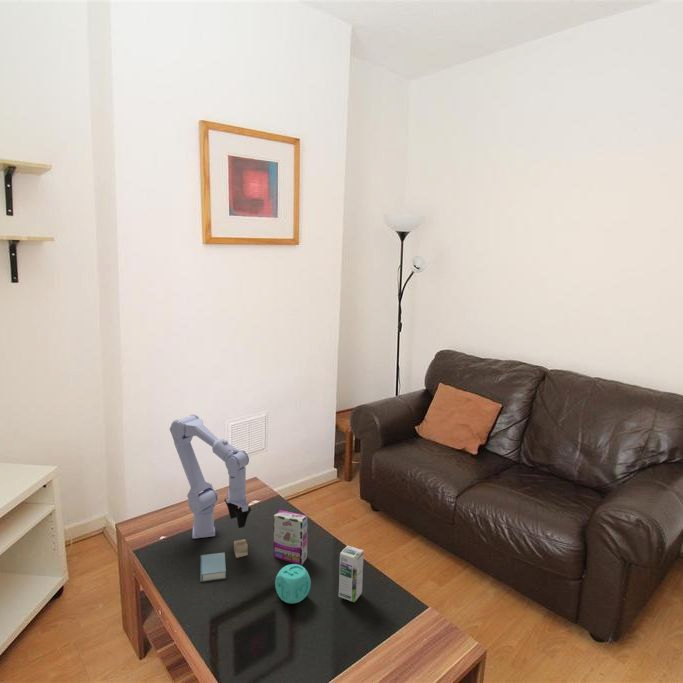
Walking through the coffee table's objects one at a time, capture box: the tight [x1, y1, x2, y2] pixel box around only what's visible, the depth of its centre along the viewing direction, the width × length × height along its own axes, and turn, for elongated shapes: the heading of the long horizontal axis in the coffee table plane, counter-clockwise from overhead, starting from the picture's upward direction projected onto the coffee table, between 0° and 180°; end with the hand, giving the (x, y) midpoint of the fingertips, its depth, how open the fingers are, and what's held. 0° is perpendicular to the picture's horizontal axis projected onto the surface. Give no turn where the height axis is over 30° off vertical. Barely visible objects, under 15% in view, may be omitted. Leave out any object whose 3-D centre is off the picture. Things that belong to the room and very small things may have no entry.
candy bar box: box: [273, 509, 309, 566], centre depth 168 cm, size 11×5×16 cm, turn 68°
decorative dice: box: [274, 563, 312, 604], centre depth 149 cm, size 8×8×8 cm
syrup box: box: [338, 545, 364, 603], centre depth 150 cm, size 6×6×14 cm
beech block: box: [233, 538, 249, 559], centre depth 170 cm, size 4×4×5 cm
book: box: [199, 552, 227, 583], centre depth 161 cm, size 11×8×3 cm
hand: (237, 522), depth 173 cm, fingers open, 7 cm apart
